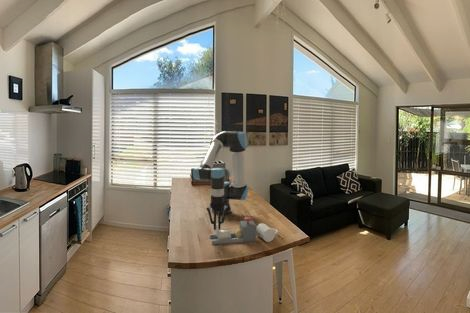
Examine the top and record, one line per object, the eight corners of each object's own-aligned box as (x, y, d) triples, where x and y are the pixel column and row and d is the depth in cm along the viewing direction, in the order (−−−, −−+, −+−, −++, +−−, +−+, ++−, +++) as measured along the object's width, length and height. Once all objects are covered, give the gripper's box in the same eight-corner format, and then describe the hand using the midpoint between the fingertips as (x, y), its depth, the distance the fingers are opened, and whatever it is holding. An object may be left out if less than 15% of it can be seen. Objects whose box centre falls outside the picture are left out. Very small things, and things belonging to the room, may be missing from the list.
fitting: (217, 238, 160) (217, 229, 159) (228, 237, 162) (229, 228, 161) (218, 242, 155) (218, 232, 154) (230, 241, 156) (230, 232, 155)
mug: (263, 243, 158) (263, 229, 157) (255, 236, 167) (255, 224, 166) (280, 240, 163) (281, 227, 162) (272, 233, 172) (272, 221, 171)
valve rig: (209, 238, 162) (210, 217, 160) (251, 236, 167) (252, 215, 165) (211, 246, 152) (212, 223, 150) (256, 243, 157) (257, 220, 156)
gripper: (206, 197, 149) (206, 238, 152) (229, 196, 152) (228, 236, 155) (205, 193, 157) (205, 232, 159) (227, 193, 159) (226, 231, 162)
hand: (216, 234), depth 157 cm, fingers closed
